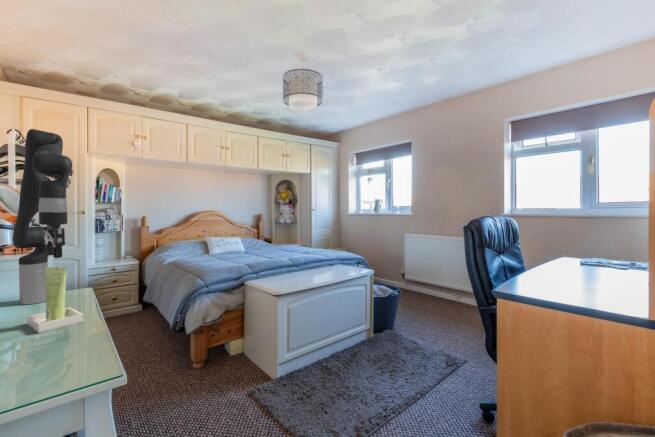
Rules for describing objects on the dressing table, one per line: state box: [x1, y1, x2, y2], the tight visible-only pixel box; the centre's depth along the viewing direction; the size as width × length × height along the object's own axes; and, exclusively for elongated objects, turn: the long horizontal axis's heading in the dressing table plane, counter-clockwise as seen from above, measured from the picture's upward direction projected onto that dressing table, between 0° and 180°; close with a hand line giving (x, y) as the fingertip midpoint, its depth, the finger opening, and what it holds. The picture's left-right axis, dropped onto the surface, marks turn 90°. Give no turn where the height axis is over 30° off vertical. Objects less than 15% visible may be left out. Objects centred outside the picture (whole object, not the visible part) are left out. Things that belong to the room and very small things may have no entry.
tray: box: [26, 306, 85, 334], centre depth 109 cm, size 14×12×3 cm
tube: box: [45, 266, 68, 322], centre depth 109 cm, size 6×5×20 cm
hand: (54, 256), depth 108 cm, fingers open, 8 cm apart
